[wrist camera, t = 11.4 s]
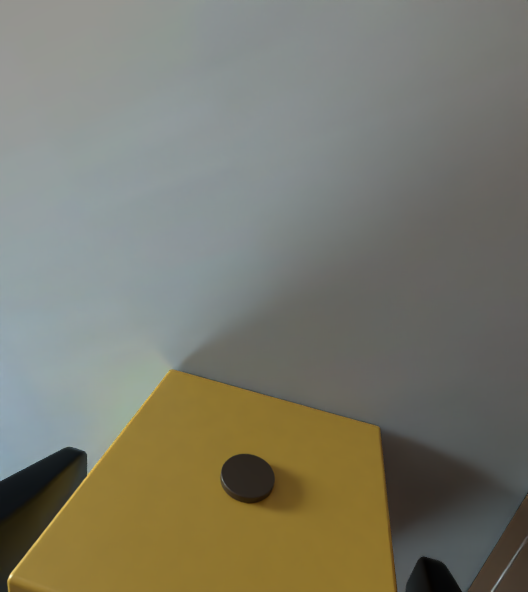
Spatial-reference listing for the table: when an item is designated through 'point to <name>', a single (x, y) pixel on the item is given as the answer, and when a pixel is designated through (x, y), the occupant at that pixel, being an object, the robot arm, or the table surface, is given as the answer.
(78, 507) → the ochre die
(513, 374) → the table surface
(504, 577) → the tray
